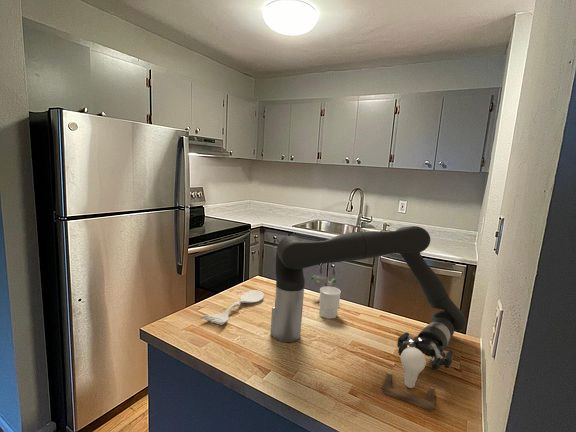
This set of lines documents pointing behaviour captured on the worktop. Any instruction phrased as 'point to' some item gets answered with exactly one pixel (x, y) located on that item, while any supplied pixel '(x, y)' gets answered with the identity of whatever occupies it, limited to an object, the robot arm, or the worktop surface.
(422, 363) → the lightbulb
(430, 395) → the walnut holder
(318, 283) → the mechanical component
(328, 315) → the white cup
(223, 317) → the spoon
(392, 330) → the worktop surface
